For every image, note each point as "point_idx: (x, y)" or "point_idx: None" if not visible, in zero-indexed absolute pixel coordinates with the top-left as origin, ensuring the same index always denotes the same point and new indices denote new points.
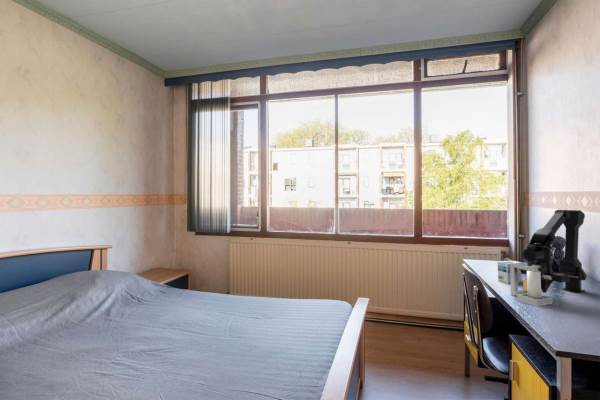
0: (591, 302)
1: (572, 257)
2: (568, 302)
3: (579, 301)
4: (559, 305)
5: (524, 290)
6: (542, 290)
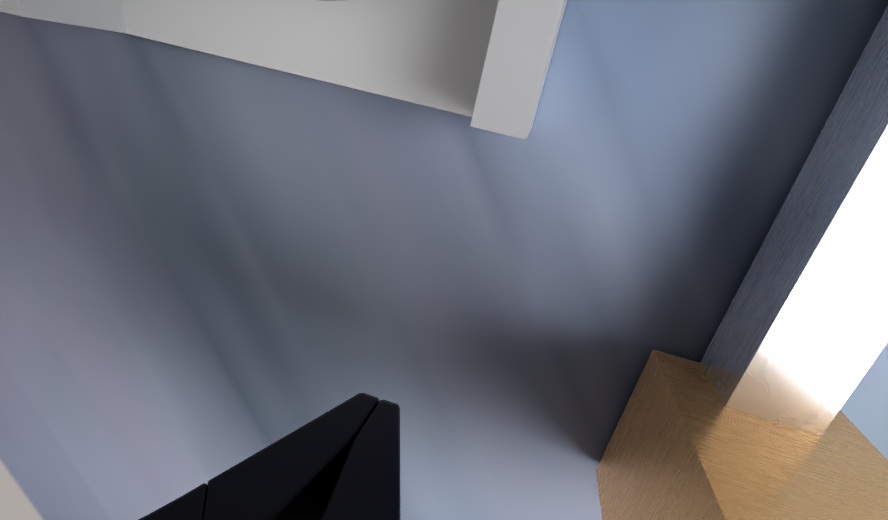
0: (43, 495)
1: None
2: (102, 321)
3: (97, 456)
4: (26, 30)
5: (815, 360)
6: (380, 425)
